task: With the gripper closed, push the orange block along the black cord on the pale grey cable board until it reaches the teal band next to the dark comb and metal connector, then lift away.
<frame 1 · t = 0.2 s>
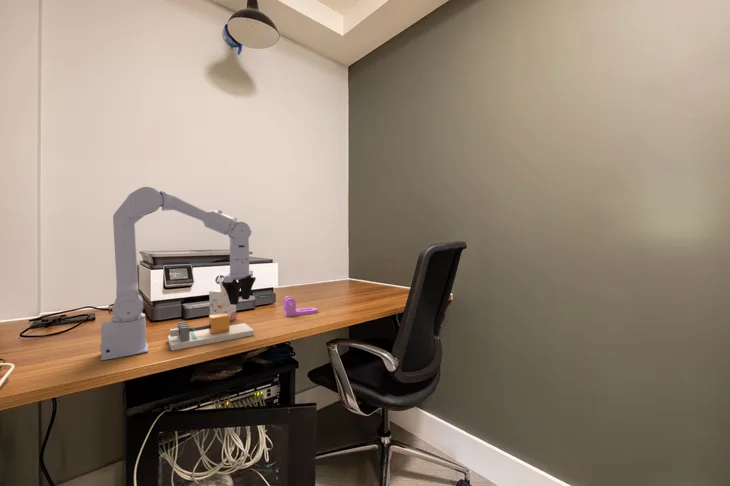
hand: (240, 301, 99), 10 cm above the table, fingers open, 7 cm apart
bracket: (301, 313, 124), on the table
ink cartridge box: (223, 321, 112), on the table
orange block: (219, 323, 95), point 4 cm above the table, slide at 0.0 cm
cable board: (212, 337, 94), on the table
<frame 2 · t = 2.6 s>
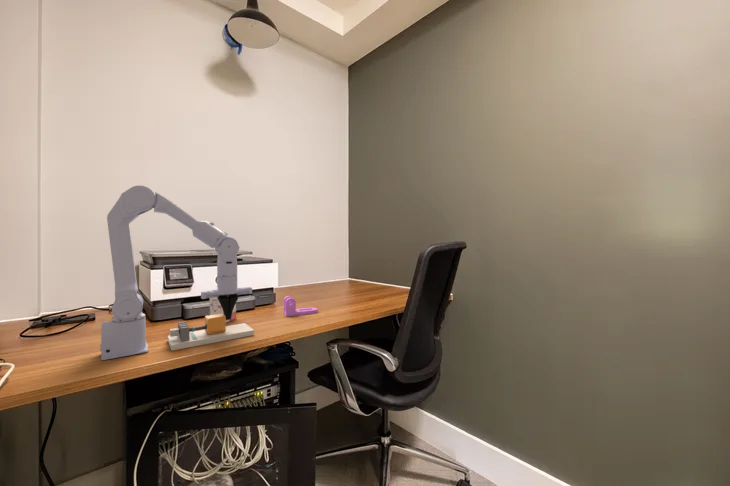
hand: (227, 319, 96), 5 cm above the table, fingers closed
orange block: (215, 323, 94), point 4 cm above the table, slide at 1.1 cm, touching gripper
everything else where it was.
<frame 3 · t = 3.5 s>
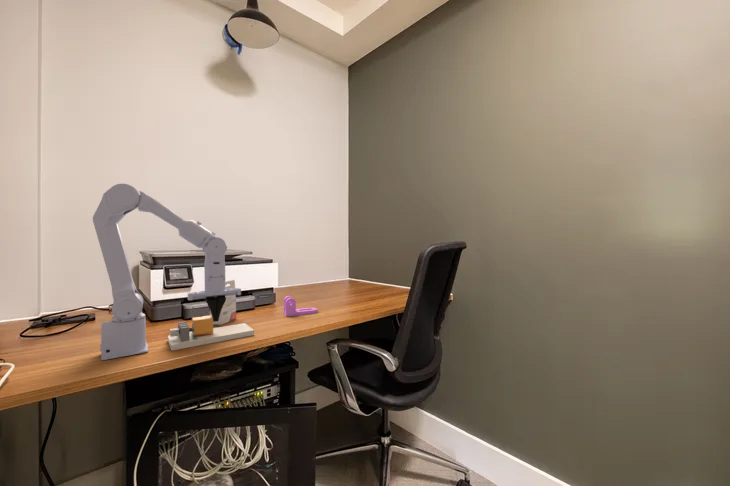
hand: (215, 320, 94), 5 cm above the table, fingers closed
orange block: (202, 325, 92), point 4 cm above the table, slide at 4.6 cm, touching gripper
everything else where it was.
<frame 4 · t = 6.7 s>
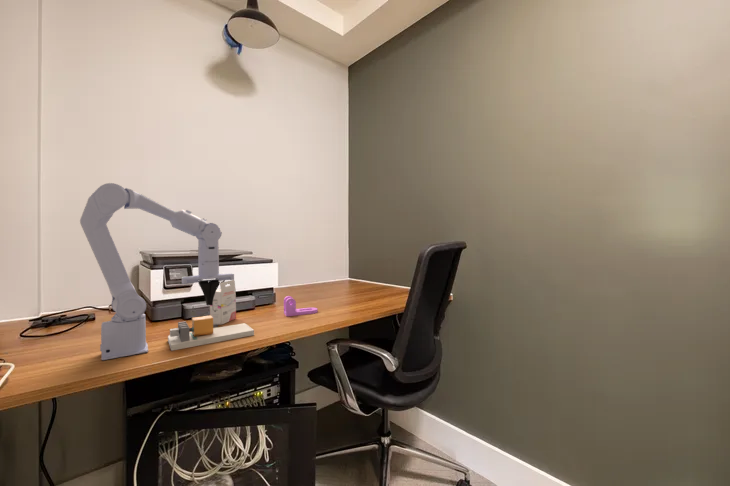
hand: (209, 304, 97), 9 cm above the table, fingers closed
orange block: (202, 325, 92), point 4 cm above the table, slide at 4.6 cm
everything else where it was.
at the end: orange block slide at 4.6 cm; ink cartridge box moved 0.2 cm from its start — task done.
